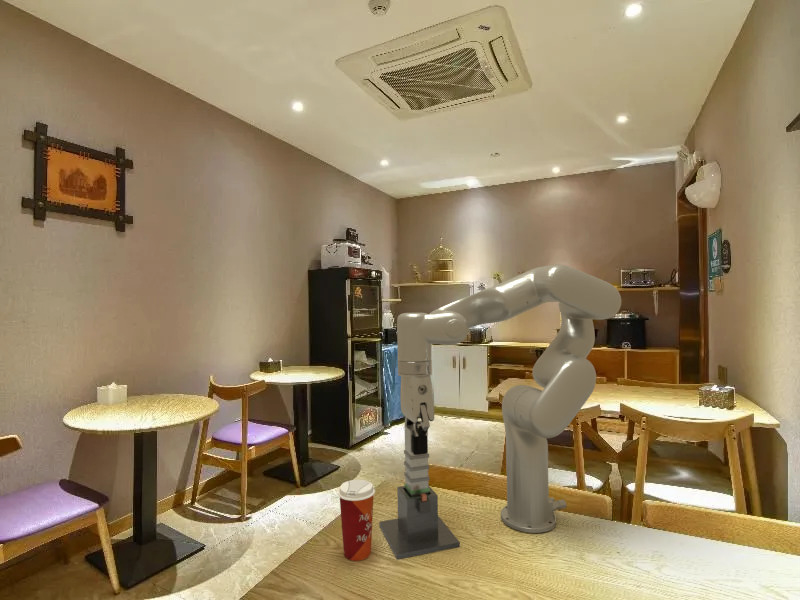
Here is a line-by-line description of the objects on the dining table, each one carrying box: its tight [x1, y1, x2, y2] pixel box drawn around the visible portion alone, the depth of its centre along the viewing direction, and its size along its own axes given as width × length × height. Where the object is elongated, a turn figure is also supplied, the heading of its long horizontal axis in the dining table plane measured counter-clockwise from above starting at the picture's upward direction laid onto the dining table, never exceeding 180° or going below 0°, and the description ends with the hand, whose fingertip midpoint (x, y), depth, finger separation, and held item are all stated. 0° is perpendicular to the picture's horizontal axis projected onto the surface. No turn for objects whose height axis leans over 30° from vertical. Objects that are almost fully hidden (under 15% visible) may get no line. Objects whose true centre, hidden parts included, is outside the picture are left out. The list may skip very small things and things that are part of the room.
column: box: [403, 424, 430, 497], centre depth 97 cm, size 4×4×18 cm
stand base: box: [378, 484, 461, 560], centre depth 97 cm, size 14×14×11 cm
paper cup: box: [337, 479, 376, 562], centre depth 91 cm, size 8×8×14 cm
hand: (416, 449), depth 97 cm, fingers open, 4 cm apart
